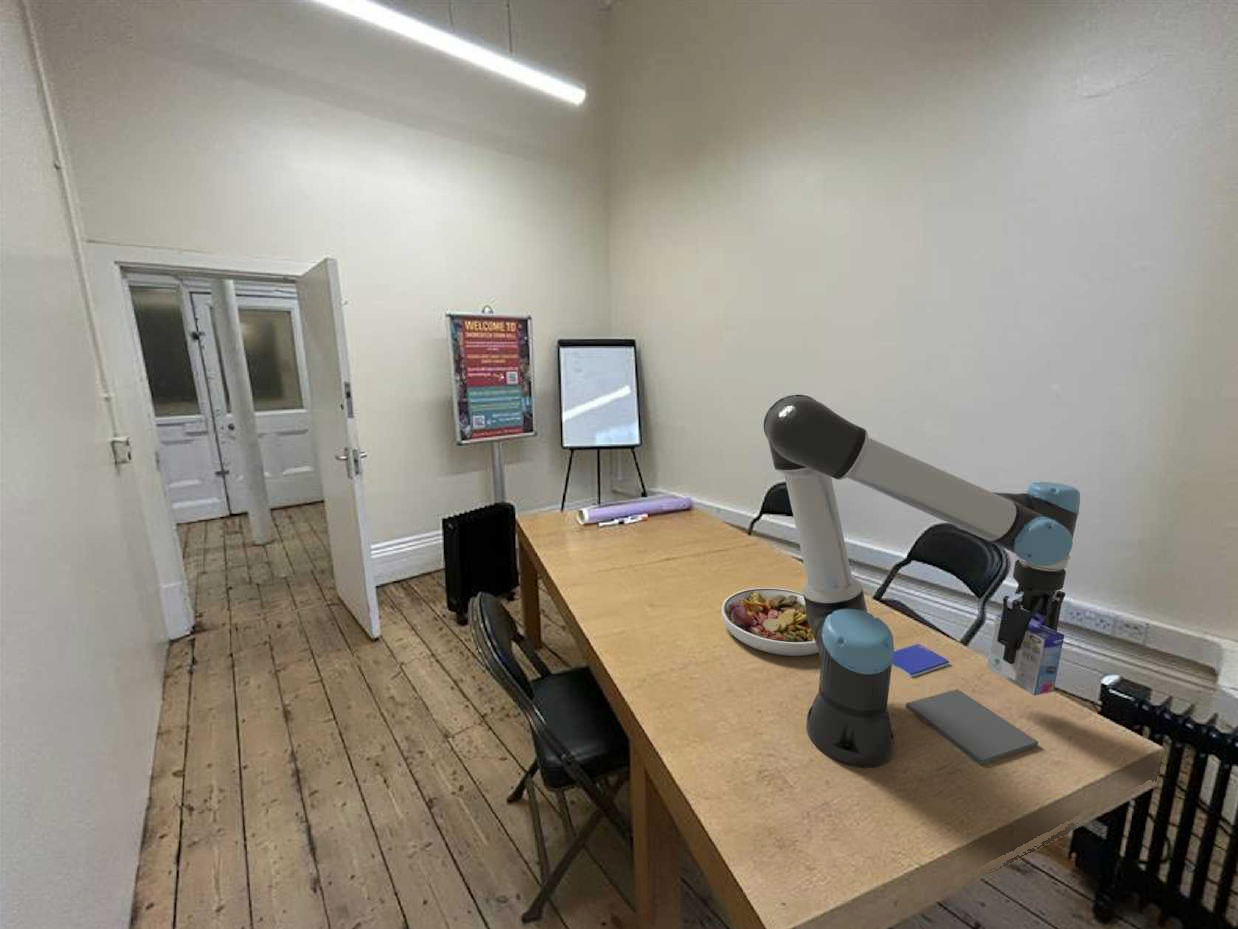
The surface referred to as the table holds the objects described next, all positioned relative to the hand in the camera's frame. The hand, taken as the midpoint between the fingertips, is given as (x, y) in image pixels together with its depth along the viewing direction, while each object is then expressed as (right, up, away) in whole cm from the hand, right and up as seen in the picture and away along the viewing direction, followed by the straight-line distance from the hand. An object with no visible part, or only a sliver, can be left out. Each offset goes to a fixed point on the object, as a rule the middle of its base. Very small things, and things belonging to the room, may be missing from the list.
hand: (1020, 673), depth 102 cm
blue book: (-10, -6, +19) cm, 22 cm away
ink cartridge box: (0, -2, 0) cm, 2 cm away
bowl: (-37, -3, +34) cm, 51 cm away
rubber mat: (-12, -9, -2) cm, 15 cm away
